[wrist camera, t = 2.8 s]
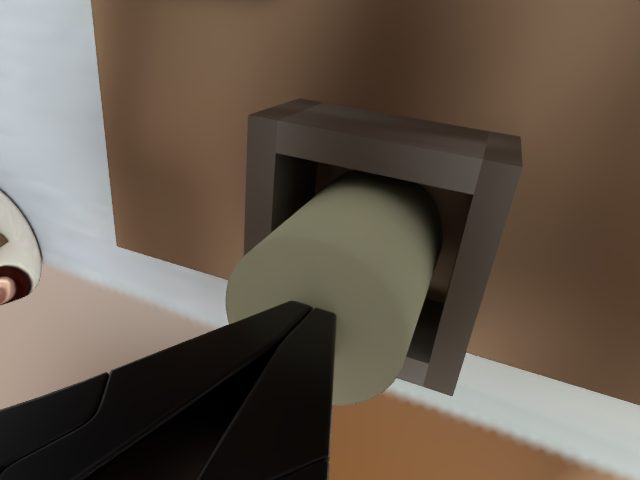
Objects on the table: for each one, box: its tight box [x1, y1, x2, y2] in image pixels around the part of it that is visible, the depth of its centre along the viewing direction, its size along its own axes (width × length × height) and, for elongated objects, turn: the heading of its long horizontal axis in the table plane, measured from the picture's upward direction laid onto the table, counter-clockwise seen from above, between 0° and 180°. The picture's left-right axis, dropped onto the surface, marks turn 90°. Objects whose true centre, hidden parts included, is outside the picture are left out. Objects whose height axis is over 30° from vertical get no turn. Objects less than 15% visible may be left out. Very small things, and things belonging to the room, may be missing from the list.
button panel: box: [91, 0, 640, 405], centre depth 10 cm, size 19×16×4 cm
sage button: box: [226, 170, 443, 405], centre depth 10 cm, size 3×3×4 cm
